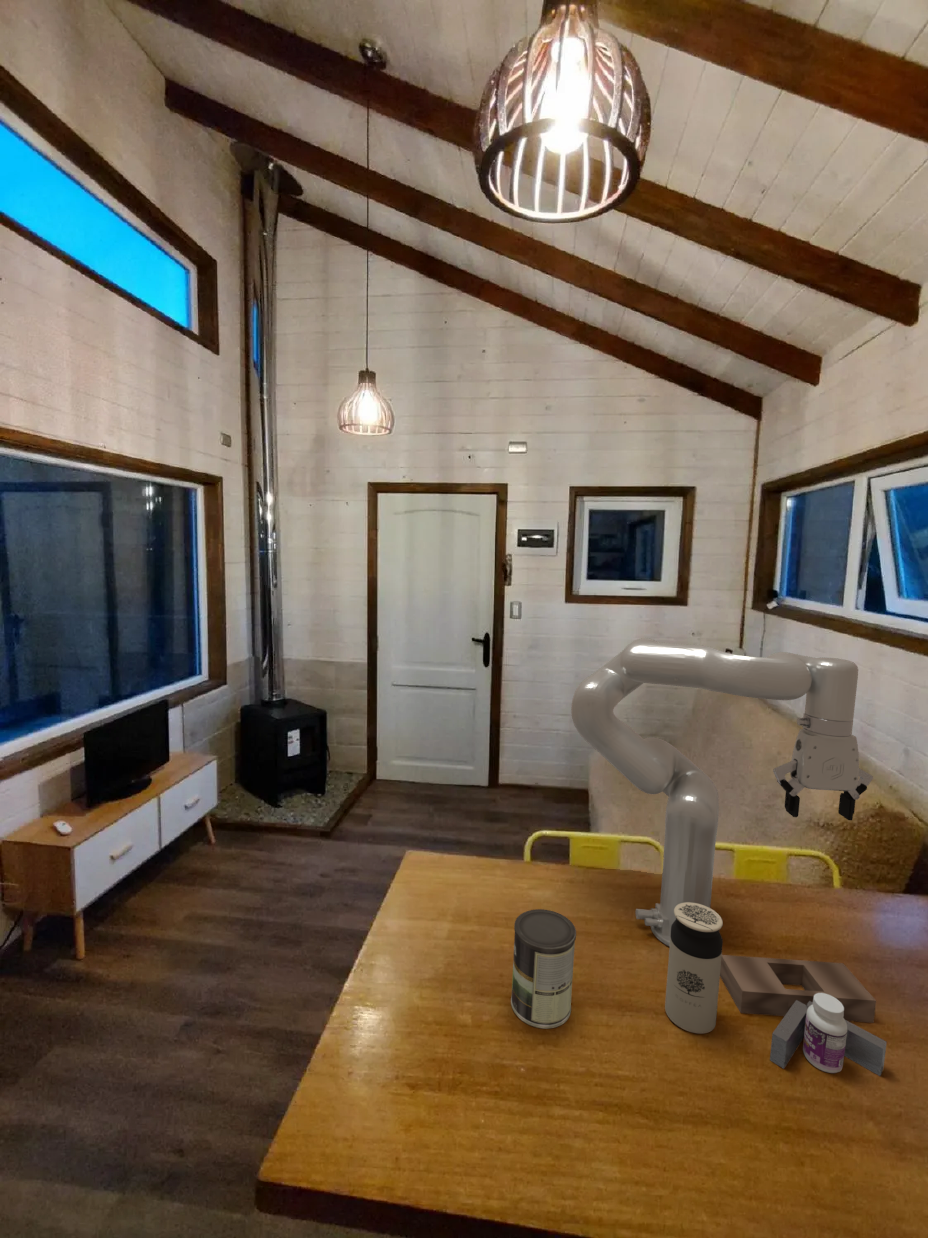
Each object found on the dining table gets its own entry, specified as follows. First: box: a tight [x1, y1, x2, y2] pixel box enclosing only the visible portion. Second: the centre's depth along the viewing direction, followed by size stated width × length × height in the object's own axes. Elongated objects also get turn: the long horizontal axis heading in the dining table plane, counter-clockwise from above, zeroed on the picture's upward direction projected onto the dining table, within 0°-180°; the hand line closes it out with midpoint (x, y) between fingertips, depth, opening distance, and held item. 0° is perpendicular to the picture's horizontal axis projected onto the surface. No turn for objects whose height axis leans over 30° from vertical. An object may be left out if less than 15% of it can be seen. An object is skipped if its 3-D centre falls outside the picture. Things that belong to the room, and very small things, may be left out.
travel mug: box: [664, 902, 724, 1034], centre depth 95 cm, size 8×8×18 cm
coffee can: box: [510, 908, 577, 1030], centre depth 96 cm, size 10×10×14 cm
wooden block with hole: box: [720, 954, 877, 1024], centre depth 100 cm, size 22×9×4 cm, turn 87°
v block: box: [769, 1000, 888, 1077], centre depth 90 cm, size 17×9×4 cm, turn 87°
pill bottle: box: [802, 993, 847, 1074], centre depth 87 cm, size 5×5×10 cm
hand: (818, 815), depth 105 cm, fingers open, 9 cm apart
